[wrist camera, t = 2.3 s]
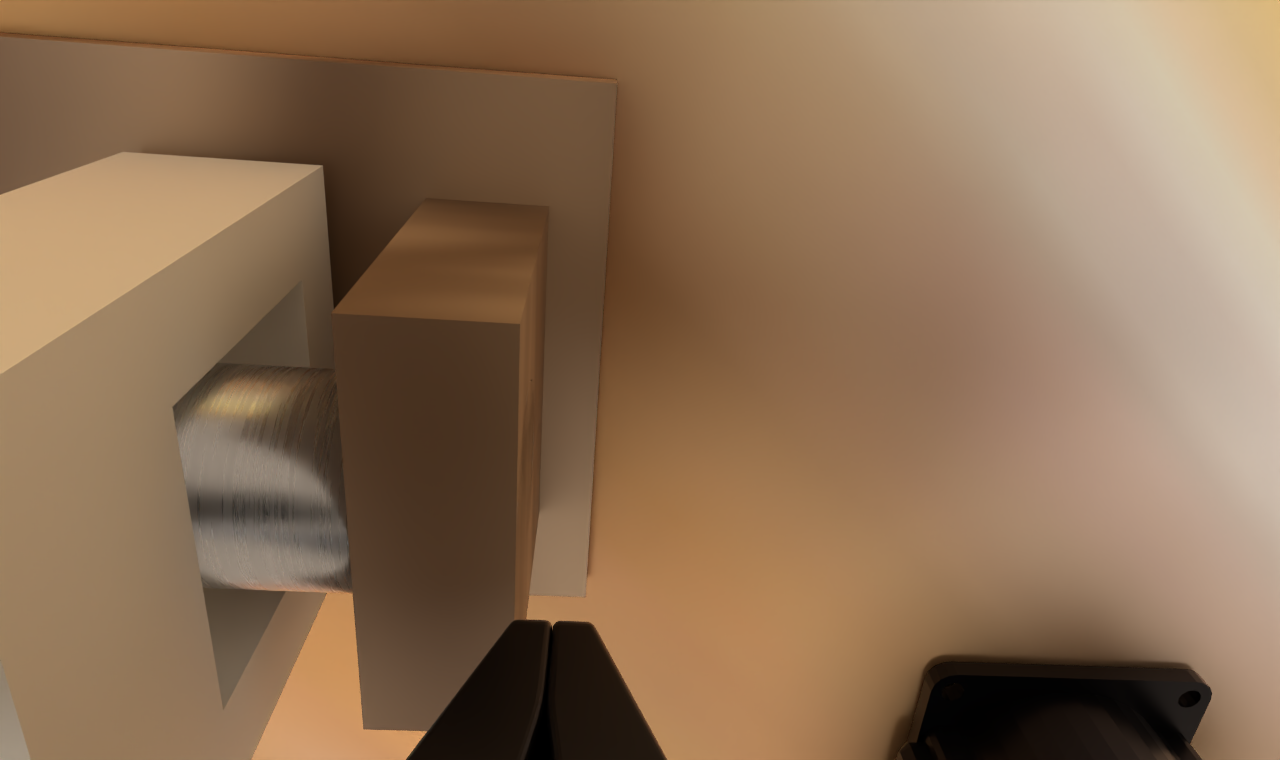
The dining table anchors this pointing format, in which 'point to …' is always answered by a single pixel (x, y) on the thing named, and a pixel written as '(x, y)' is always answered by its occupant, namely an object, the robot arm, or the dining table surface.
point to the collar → (141, 449)
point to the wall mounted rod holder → (401, 306)
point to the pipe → (266, 478)
